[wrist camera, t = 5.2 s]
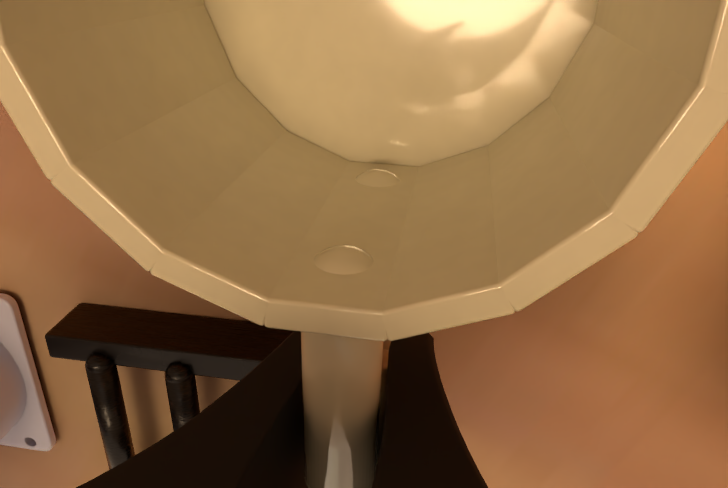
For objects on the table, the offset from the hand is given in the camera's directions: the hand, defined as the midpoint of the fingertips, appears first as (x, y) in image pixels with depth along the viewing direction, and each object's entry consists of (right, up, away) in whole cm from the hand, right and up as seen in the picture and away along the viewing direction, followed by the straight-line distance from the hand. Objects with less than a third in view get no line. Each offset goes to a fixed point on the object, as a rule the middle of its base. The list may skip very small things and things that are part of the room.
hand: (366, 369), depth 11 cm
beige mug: (0, +5, 0) cm, 5 cm away
